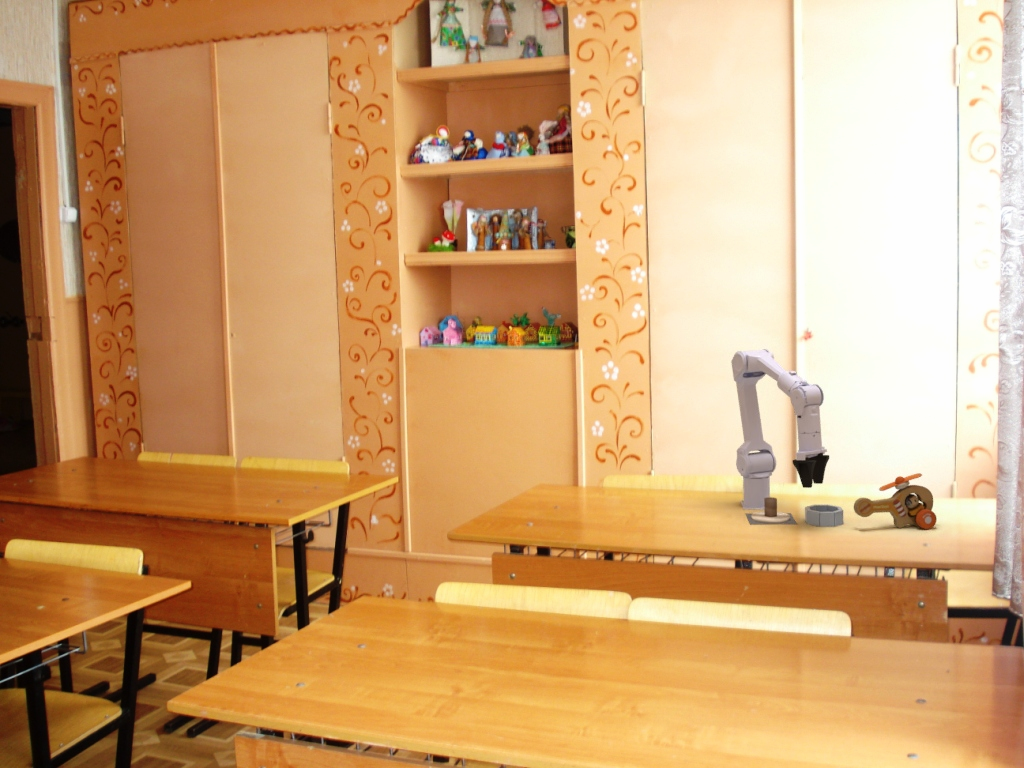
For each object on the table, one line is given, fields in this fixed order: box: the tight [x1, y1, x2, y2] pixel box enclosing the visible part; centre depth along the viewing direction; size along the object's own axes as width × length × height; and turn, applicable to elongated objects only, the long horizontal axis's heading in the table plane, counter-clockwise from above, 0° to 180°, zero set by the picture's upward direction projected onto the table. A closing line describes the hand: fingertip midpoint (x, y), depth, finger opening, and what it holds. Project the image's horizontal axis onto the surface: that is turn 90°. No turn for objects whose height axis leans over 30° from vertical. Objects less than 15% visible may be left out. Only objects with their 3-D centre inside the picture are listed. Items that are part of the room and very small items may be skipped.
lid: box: [751, 496, 790, 523], centre depth 262 cm, size 10×10×5 cm
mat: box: [745, 512, 798, 526], centre depth 263 cm, size 12×12×1 cm
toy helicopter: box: [853, 473, 938, 530], centre depth 250 cm, size 8×21×14 cm, turn 98°
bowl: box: [804, 504, 844, 528], centre depth 257 cm, size 9×9×4 cm
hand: (812, 485), depth 253 cm, fingers open, 7 cm apart
